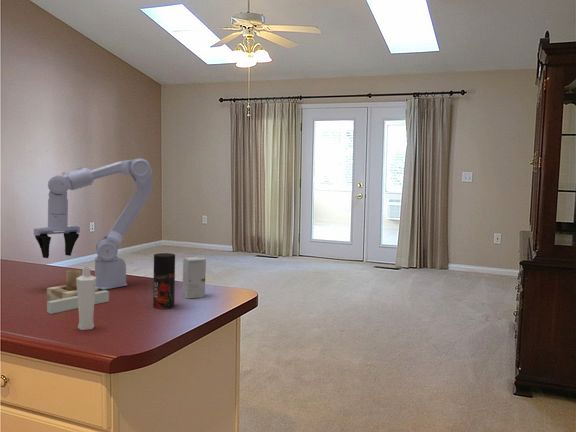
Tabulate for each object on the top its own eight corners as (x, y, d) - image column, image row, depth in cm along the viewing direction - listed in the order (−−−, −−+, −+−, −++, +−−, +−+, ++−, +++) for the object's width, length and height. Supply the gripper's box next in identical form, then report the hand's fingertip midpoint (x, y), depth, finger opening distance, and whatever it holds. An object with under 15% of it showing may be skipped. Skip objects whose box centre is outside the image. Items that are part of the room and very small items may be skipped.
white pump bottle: (79, 324, 130) (79, 265, 128) (97, 324, 130) (97, 265, 129) (73, 330, 125) (73, 269, 124) (91, 330, 126) (92, 269, 124)
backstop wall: (104, 300, 154) (104, 290, 153) (108, 301, 153) (109, 291, 152) (46, 312, 139) (46, 301, 139) (51, 313, 138) (51, 302, 138)
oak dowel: (80, 296, 153) (80, 269, 153) (80, 299, 150) (81, 272, 149) (65, 296, 152) (66, 269, 151) (65, 300, 148) (65, 272, 148)
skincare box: (187, 299, 158) (188, 260, 157) (181, 296, 162) (182, 257, 161) (205, 297, 162) (206, 258, 161) (199, 294, 166) (200, 256, 165)
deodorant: (178, 305, 151) (179, 254, 150) (167, 310, 146) (167, 257, 144) (160, 302, 153) (161, 252, 152) (148, 307, 148) (149, 255, 146)
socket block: (78, 295, 158) (78, 282, 158) (98, 301, 152) (98, 287, 152) (46, 301, 150) (46, 288, 149) (66, 307, 144) (66, 293, 144)
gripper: (71, 212, 172) (70, 252, 173) (28, 213, 160) (27, 257, 161) (84, 213, 168) (83, 255, 169) (41, 215, 156) (40, 260, 157)
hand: (57, 256), depth 164 cm, fingers open, 7 cm apart
